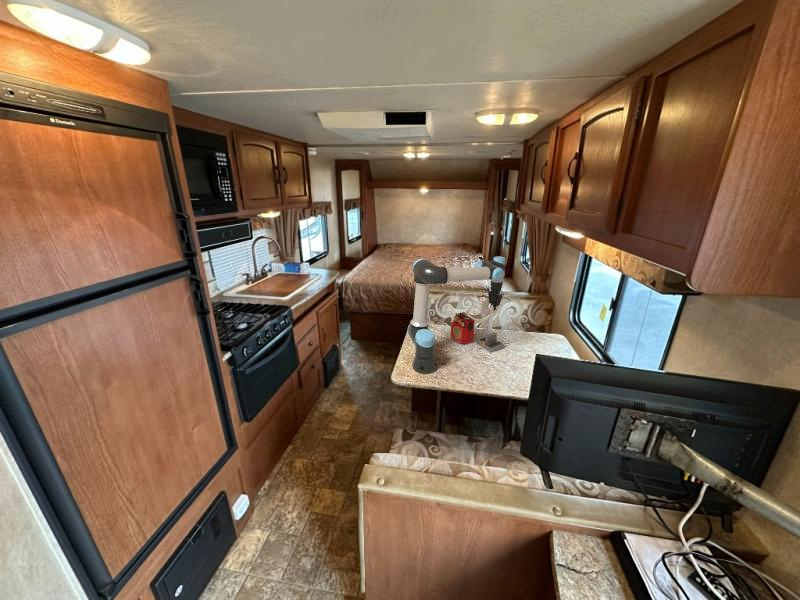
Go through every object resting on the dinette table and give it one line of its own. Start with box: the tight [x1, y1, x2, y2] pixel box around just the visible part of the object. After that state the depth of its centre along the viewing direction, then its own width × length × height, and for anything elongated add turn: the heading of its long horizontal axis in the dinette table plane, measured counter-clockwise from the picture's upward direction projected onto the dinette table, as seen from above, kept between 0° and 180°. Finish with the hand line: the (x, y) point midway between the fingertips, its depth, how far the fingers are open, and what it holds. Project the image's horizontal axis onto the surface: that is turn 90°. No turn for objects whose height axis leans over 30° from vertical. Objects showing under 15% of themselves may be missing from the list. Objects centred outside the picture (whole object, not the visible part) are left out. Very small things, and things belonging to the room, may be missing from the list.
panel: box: [485, 332, 498, 344], centre depth 213 cm, size 8×2×8 cm, turn 119°
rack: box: [475, 335, 505, 354], centre depth 214 cm, size 12×15×4 cm
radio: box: [450, 311, 476, 345], centre depth 218 cm, size 16×10×20 cm, turn 28°
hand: (492, 314), depth 205 cm, fingers closed
